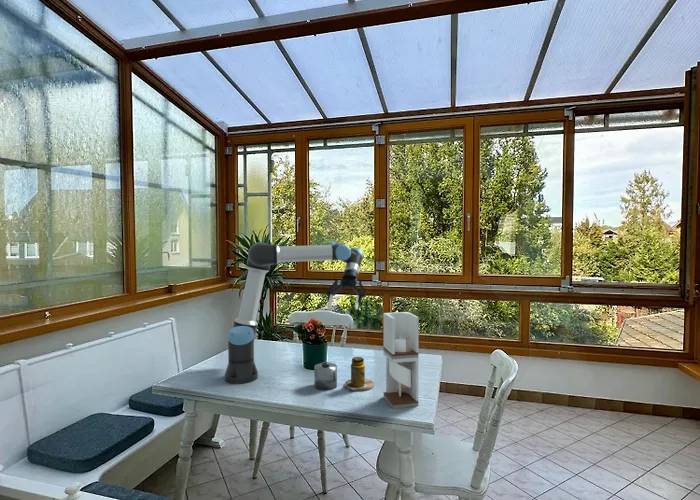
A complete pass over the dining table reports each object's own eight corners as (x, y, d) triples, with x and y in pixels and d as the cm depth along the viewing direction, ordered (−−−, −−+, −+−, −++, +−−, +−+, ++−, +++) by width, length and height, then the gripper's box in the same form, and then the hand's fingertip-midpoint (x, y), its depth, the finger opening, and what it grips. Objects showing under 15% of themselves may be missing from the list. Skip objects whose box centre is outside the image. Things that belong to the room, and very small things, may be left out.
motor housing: (311, 384, 182) (310, 361, 181) (331, 380, 186) (330, 358, 186) (320, 392, 173) (319, 367, 173) (340, 387, 178) (340, 364, 177)
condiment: (368, 386, 177) (368, 359, 177) (352, 390, 172) (352, 362, 172) (359, 381, 183) (359, 355, 183) (343, 385, 178) (343, 358, 178)
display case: (383, 397, 167) (383, 313, 166) (407, 394, 170) (407, 311, 169) (392, 408, 156) (392, 318, 155) (418, 405, 159) (418, 317, 157)
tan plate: (339, 383, 183) (339, 381, 183) (364, 378, 189) (364, 376, 189) (353, 393, 172) (353, 390, 172) (379, 387, 178) (379, 385, 178)
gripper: (376, 278, 205) (368, 313, 192) (329, 277, 213) (319, 310, 199) (373, 269, 200) (366, 304, 186) (326, 268, 207) (315, 301, 194)
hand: (342, 307), depth 193 cm, fingers open, 13 cm apart
